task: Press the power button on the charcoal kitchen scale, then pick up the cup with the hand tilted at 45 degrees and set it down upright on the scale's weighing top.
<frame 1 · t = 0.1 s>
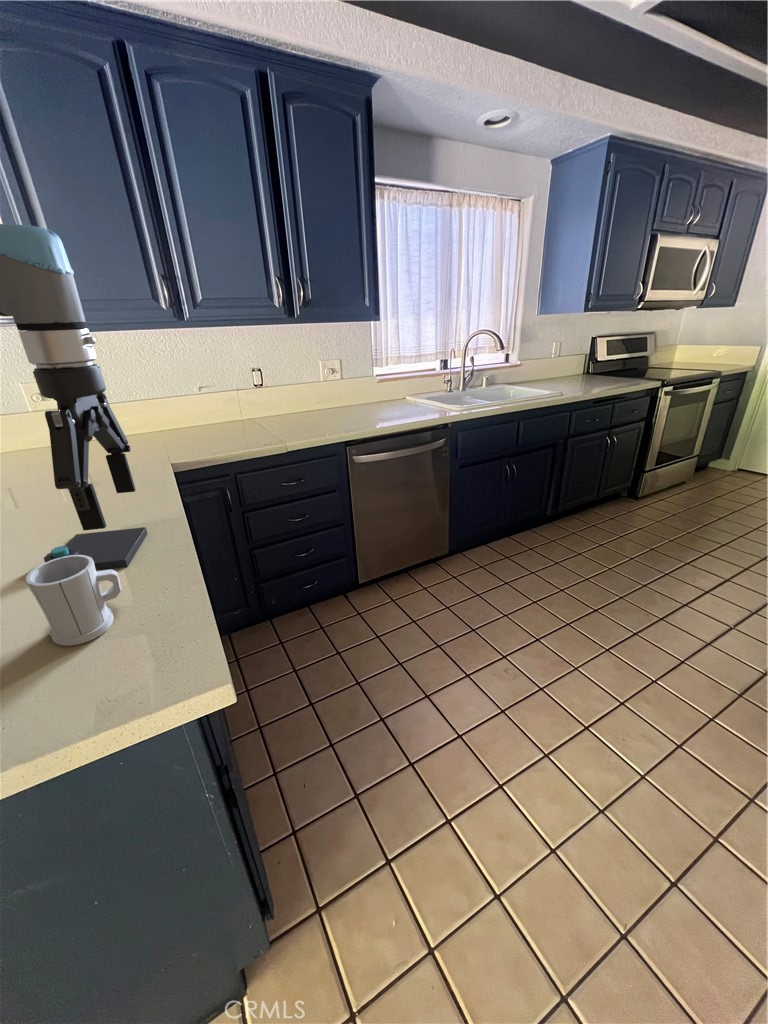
hand: (112, 508, 66), 21 cm above the counter, tool pointing down, fingers open, 13 cm apart
scale: (101, 553, 94), on the counter
scale button: (60, 552, 87), point 4 cm above the counter, slide at 0.1 cm
cup: (90, 626, 73), on the counter
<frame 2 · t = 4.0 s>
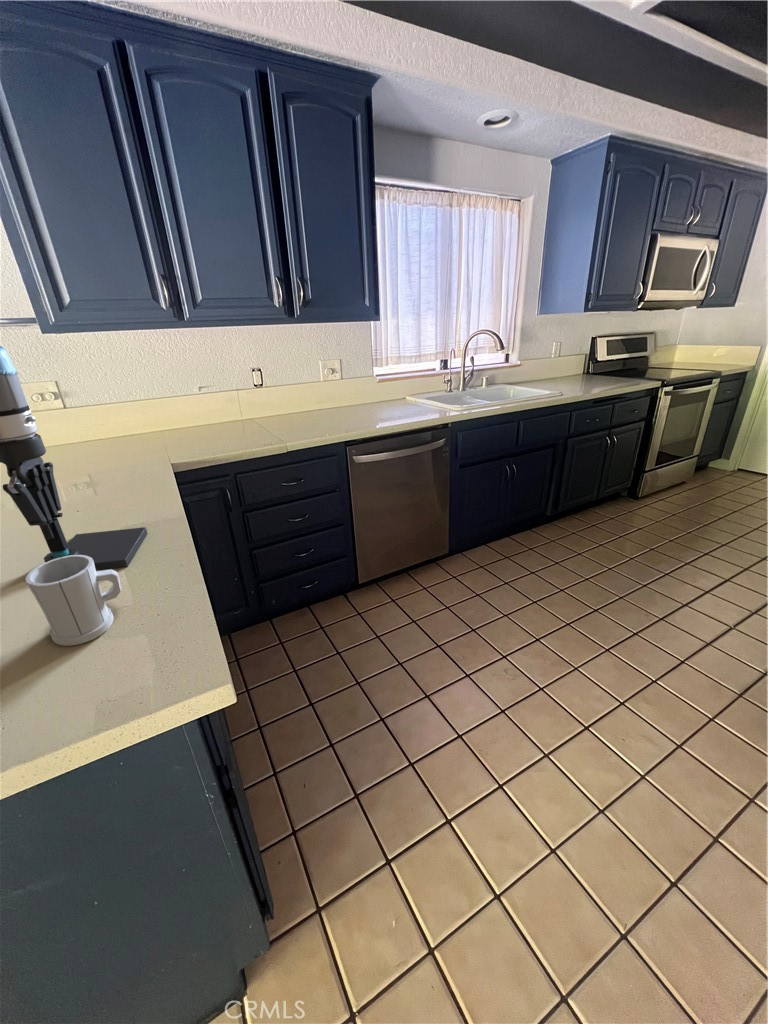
hand: (59, 549, 87), 5 cm above the counter, tool pointing down, fingers closed
scale button: (60, 553, 87), point 4 cm above the counter, slide at -0.2 cm, touching gripper
everything else where it was.
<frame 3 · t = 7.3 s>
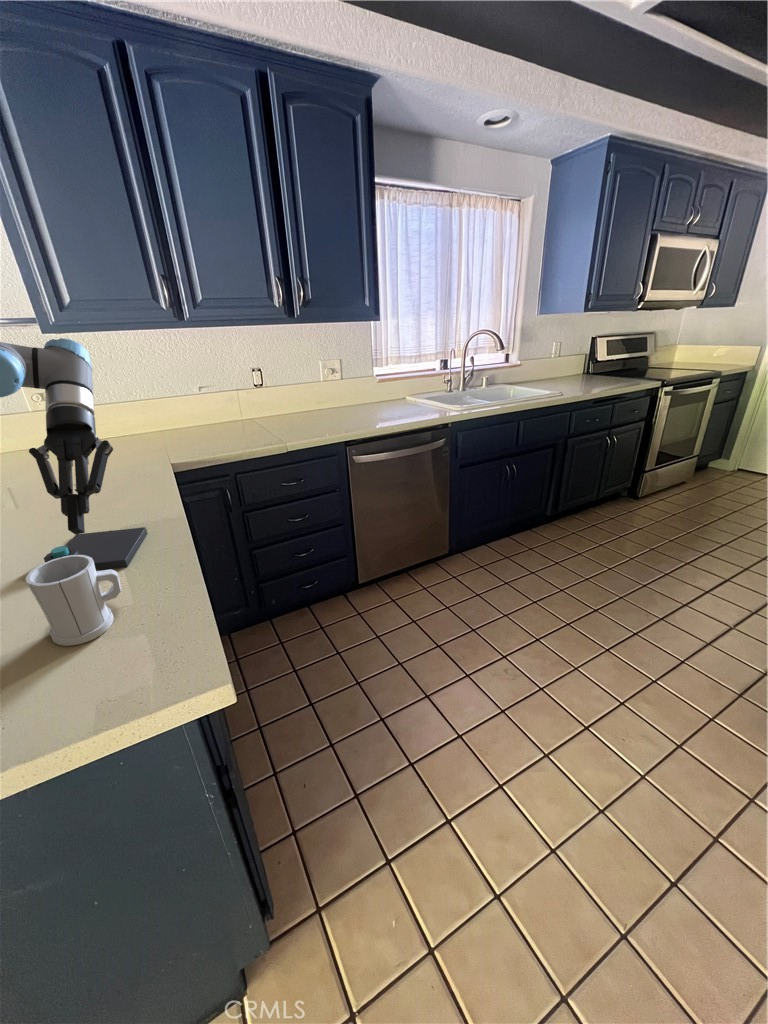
hand: (76, 531, 74), 14 cm above the counter, tool tilted 45°, fingers closed
scale button: (60, 552, 87), point 4 cm above the counter, slide at 0.1 cm
everything else where it was.
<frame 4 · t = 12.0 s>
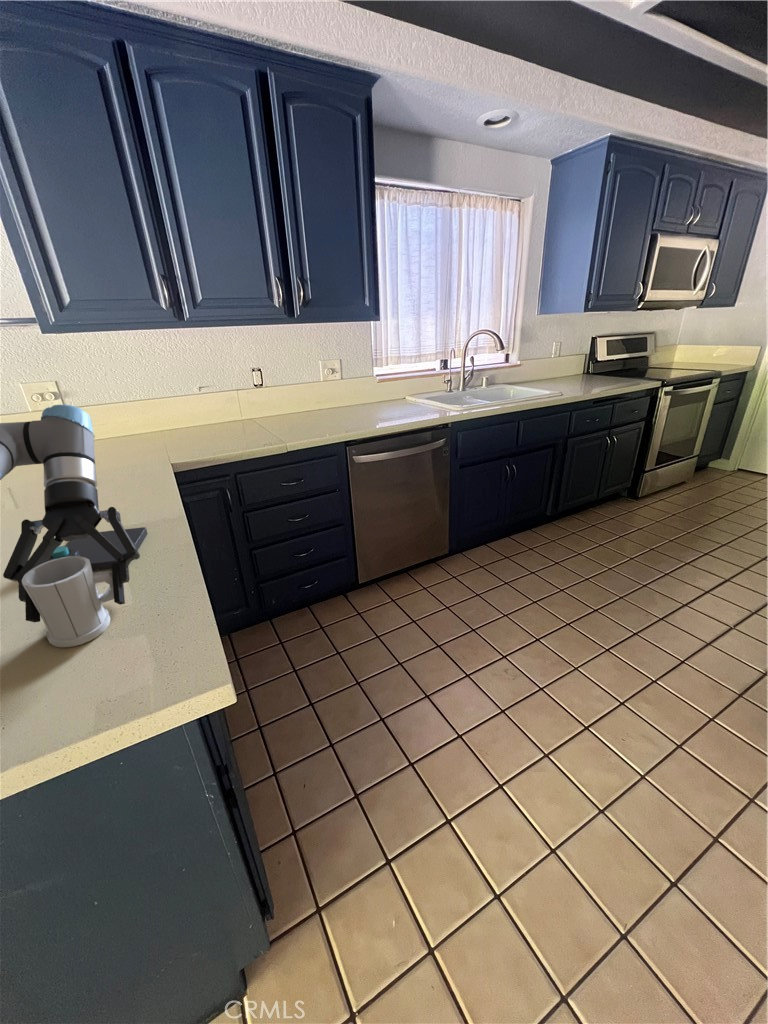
hand: (77, 611, 68), 5 cm above the counter, tool tilted 45°, fingers closed on cup, 11 cm apart
cup: (86, 628, 72), on the counter, touching gripper
everything else where it was.
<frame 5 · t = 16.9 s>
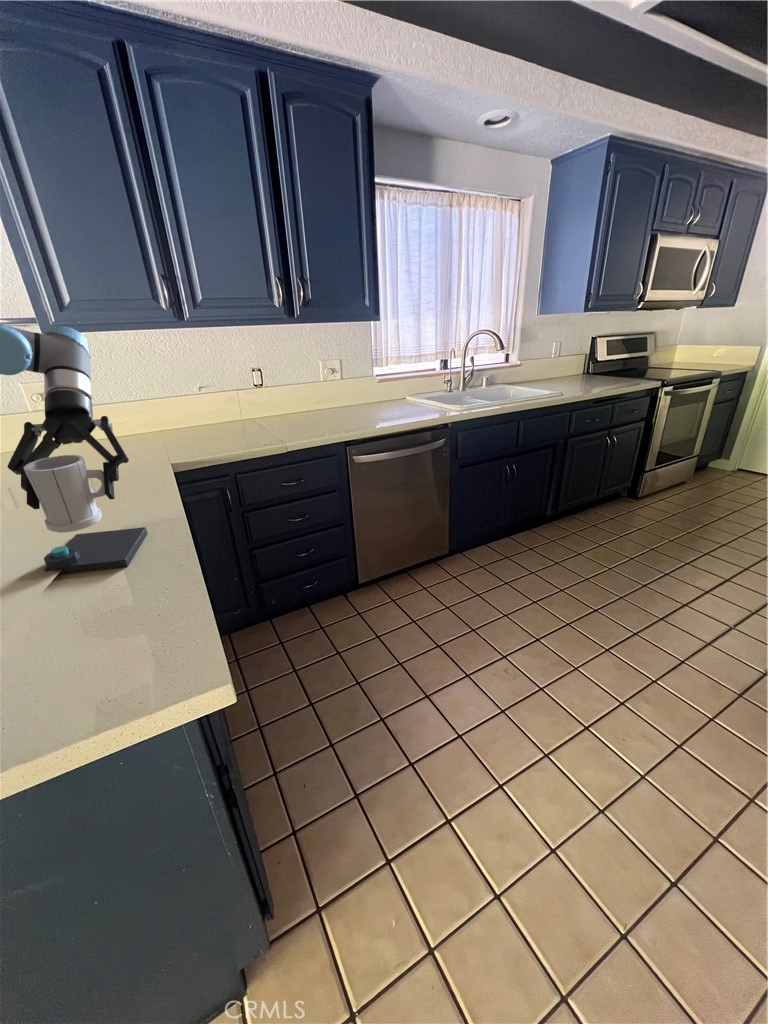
hand: (72, 501, 77), 17 cm above the counter, tool tilted 45°, fingers closed on cup, 11 cm apart
cup: (80, 521, 82), point 12 cm above the counter, touching gripper
everything else where it was.
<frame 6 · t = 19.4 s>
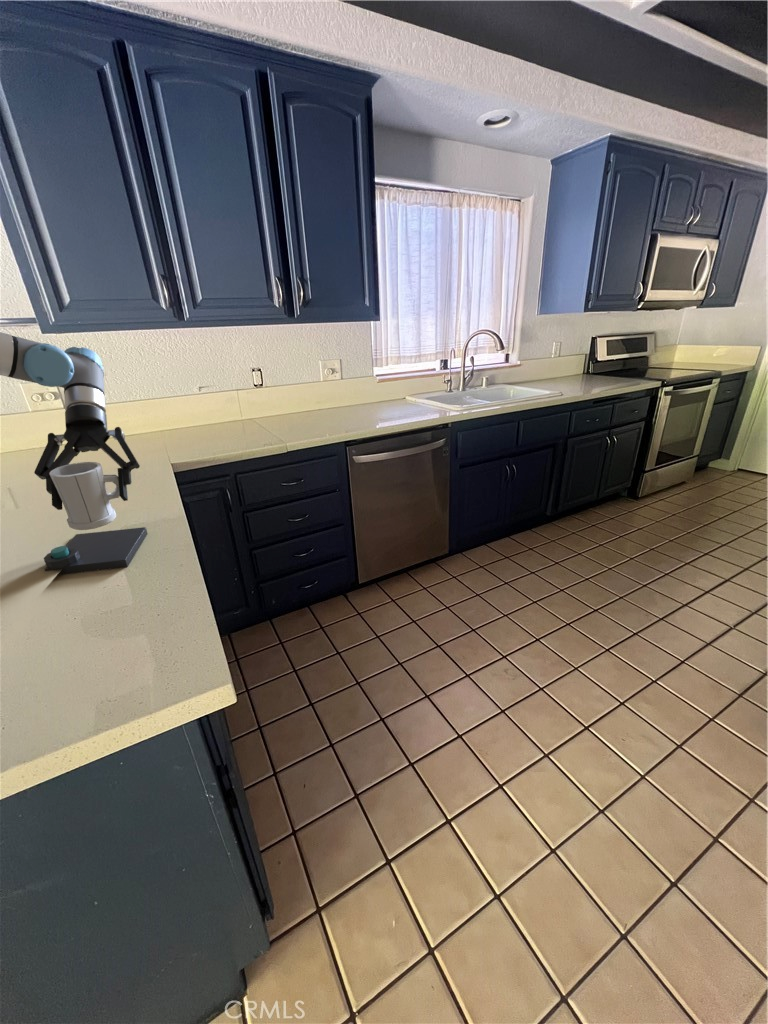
hand: (91, 502, 88), 13 cm above the counter, tool tilted 45°, fingers closed on cup, 11 cm apart
cup: (97, 520, 92), point 7 cm above the counter, touching gripper
everything else where it was.
when the fingers open (7 cm above the counter, at t = 21.8 s): cup stays where it is, resting on scale.
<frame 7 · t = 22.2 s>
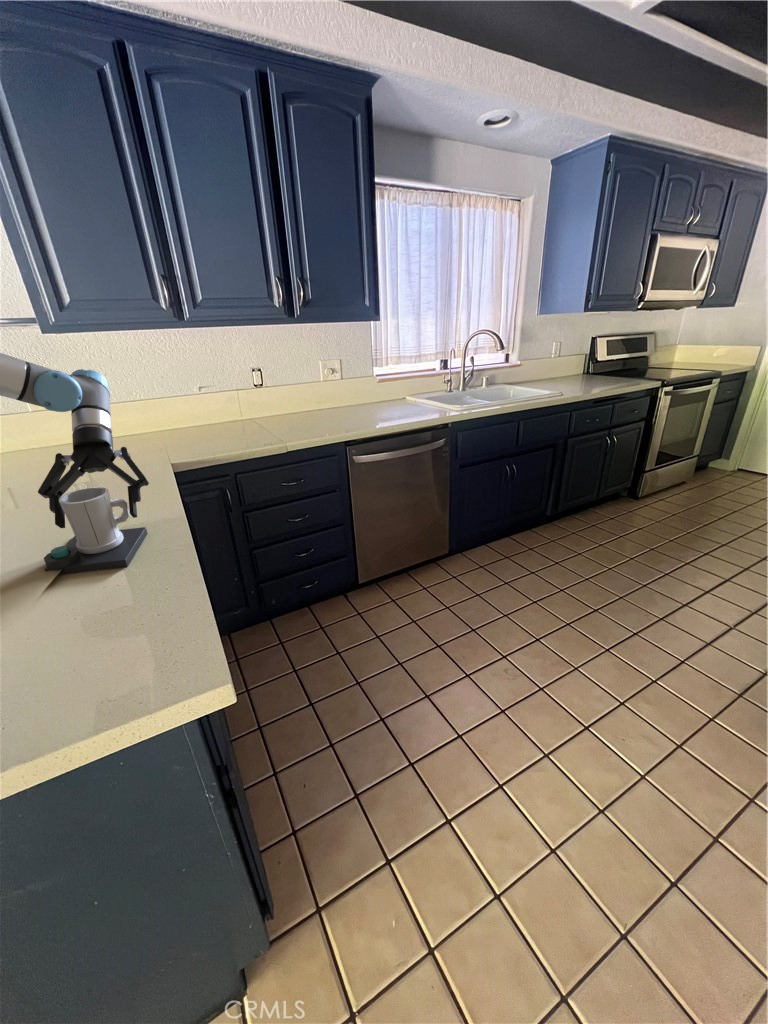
hand: (97, 520, 90), 8 cm above the counter, tool tilted 45°, fingers open, 13 cm apart
cup: (105, 543, 95), point 2 cm above the counter, touching scale
everything else where it was.
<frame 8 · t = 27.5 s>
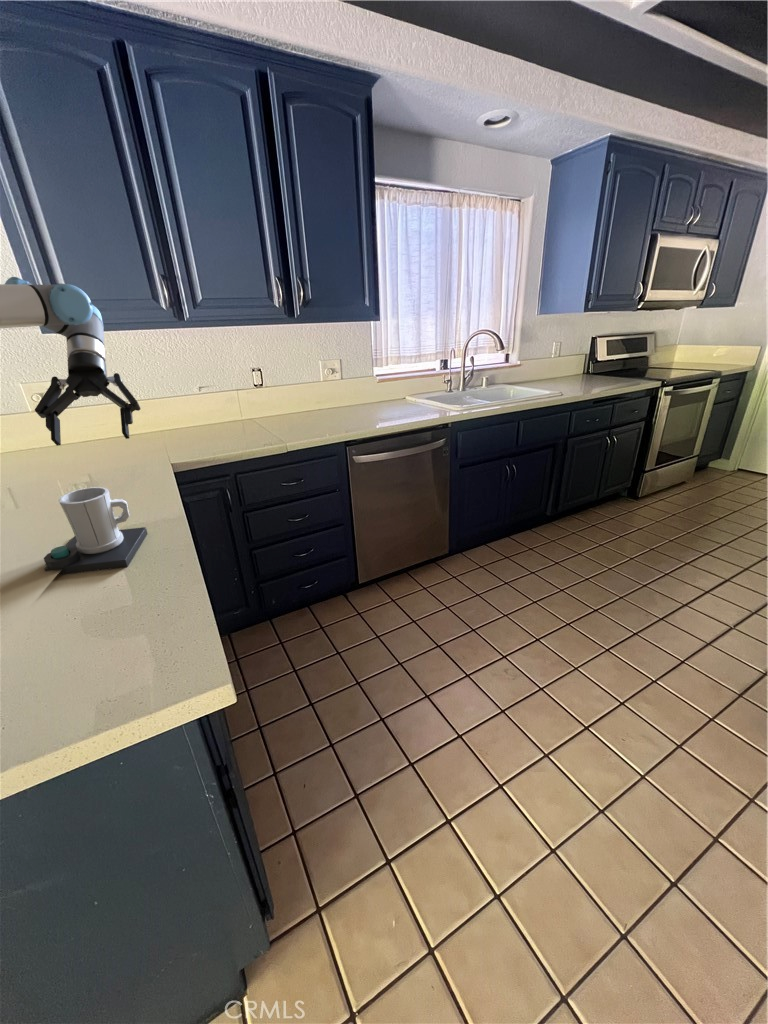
hand: (91, 439, 95), 23 cm above the counter, tool tilted 45°, fingers open, 13 cm apart
nothing on the counter moved.
at the end: scale button pushed in 0.8 cm at the most during the clip, back to where it started at the end; cup touching scale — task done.
